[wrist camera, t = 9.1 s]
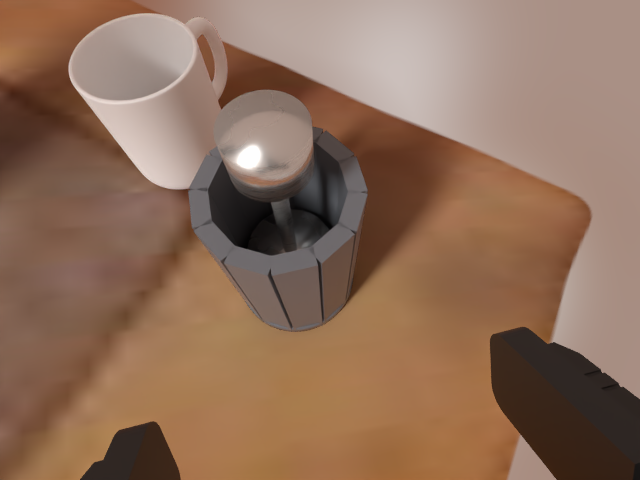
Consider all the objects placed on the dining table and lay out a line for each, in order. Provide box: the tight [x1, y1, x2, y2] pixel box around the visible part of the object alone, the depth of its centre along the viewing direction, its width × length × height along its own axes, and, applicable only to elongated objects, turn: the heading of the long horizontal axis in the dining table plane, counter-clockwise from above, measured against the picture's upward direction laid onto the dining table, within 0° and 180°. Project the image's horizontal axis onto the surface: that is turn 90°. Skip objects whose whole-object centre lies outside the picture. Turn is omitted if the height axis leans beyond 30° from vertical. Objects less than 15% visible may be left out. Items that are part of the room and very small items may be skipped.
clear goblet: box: [213, 90, 329, 256], centre depth 19 cm, size 5×5×12 cm
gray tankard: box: [188, 127, 368, 332], centre depth 24 cm, size 8×11×12 cm
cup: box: [69, 13, 228, 189], centre depth 30 cm, size 8×12×10 cm
